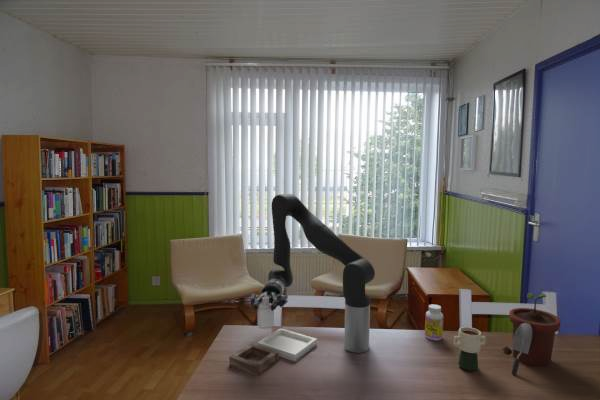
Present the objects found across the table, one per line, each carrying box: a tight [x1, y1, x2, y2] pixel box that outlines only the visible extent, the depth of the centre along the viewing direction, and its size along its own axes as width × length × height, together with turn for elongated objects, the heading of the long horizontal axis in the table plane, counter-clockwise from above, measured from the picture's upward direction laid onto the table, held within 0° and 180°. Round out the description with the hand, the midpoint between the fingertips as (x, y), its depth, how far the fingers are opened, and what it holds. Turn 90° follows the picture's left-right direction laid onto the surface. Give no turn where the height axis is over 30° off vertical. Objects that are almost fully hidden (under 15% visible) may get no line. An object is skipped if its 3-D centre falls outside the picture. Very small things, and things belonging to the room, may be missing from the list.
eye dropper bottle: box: [257, 294, 275, 330], centre depth 140 cm, size 4×6×12 cm
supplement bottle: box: [424, 303, 444, 341], centre depth 159 cm, size 7×7×13 cm
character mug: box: [452, 326, 487, 371], centre depth 136 cm, size 11×7×13 cm, turn 91°
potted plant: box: [502, 292, 562, 375], centre depth 141 cm, size 18×22×25 cm
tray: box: [256, 328, 318, 362], centre depth 151 cm, size 15×17×2 cm
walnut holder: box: [228, 343, 279, 376], centre depth 139 cm, size 12×12×3 cm
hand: (263, 307), depth 138 cm, fingers closed on eye dropper bottle, 5 cm apart
